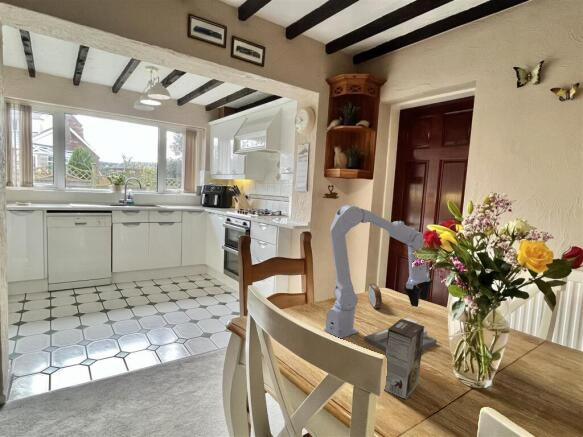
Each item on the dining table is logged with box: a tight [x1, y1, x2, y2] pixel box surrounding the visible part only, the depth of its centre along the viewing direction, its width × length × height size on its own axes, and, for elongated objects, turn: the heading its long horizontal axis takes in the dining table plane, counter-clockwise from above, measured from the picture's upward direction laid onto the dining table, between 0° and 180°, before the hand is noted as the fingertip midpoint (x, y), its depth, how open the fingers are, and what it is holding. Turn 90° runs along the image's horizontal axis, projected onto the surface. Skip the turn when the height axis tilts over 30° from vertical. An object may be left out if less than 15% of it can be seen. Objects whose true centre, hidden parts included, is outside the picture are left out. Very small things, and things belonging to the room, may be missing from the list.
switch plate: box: [364, 327, 438, 353], centre depth 110 cm, size 20×14×4 cm
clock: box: [367, 283, 383, 309], centre depth 144 cm, size 15×3×8 cm, turn 179°
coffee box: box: [384, 318, 425, 400], centre depth 84 cm, size 9×6×16 cm
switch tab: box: [403, 317, 419, 325], centre depth 112 cm, size 5×5×5 cm
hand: (419, 302), depth 117 cm, fingers open, 7 cm apart
